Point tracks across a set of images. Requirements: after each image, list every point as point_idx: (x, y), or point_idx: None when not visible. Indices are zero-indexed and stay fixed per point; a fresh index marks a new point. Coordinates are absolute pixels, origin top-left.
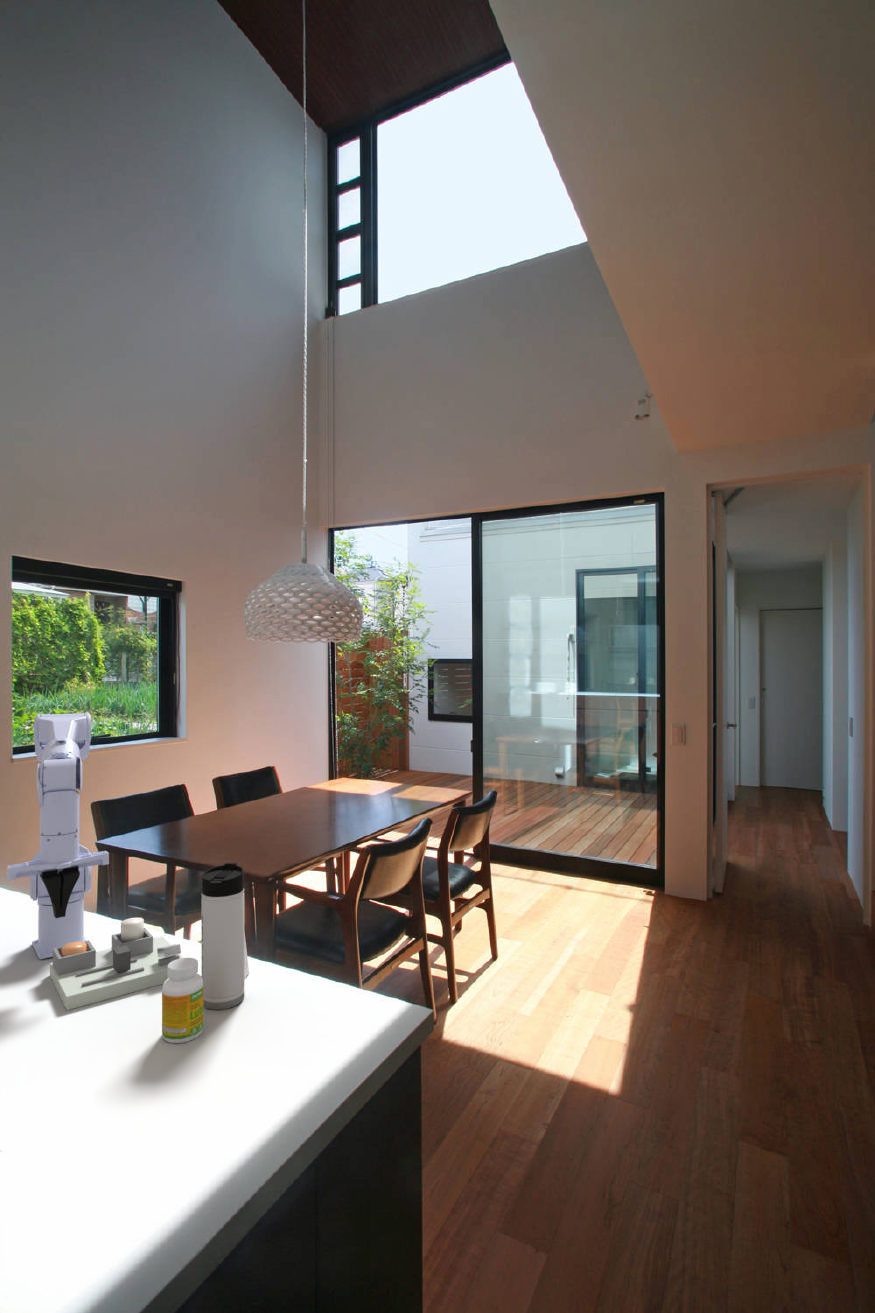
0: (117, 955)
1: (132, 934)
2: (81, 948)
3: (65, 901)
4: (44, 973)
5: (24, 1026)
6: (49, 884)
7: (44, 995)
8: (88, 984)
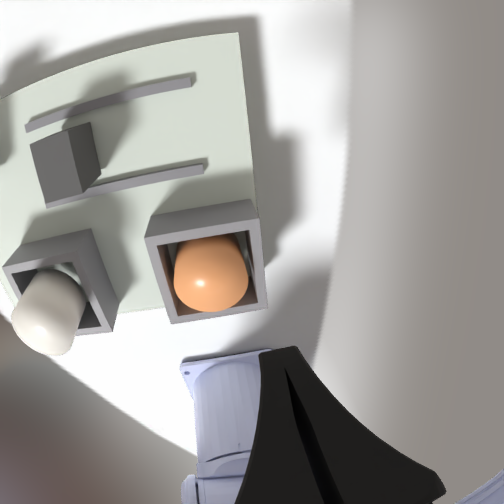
0: (68, 130)
1: (41, 283)
2: (188, 256)
3: (275, 407)
4: (268, 288)
5: (327, 18)
6: (411, 474)
7: (278, 163)
8: (172, 80)
